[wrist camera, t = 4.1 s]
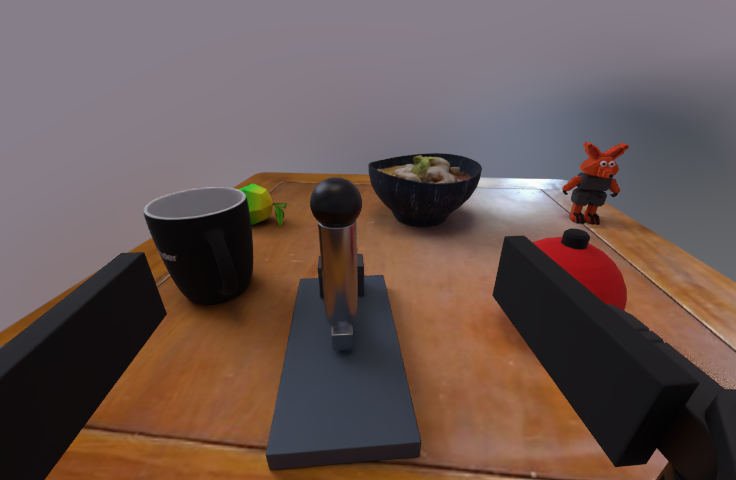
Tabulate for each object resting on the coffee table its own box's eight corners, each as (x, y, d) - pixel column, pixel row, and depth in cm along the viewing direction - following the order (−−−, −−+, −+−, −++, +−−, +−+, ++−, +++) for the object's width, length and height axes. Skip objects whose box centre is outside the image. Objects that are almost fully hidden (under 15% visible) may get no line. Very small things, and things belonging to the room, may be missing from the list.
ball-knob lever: (325, 278, 33) (316, 152, 27) (358, 277, 33) (355, 152, 28) (320, 352, 24) (305, 188, 18) (365, 349, 24) (363, 187, 19)
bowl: (351, 208, 56) (350, 151, 52) (429, 194, 63) (434, 142, 59) (405, 249, 43) (409, 177, 38) (496, 225, 50) (509, 161, 45)
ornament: (581, 306, 32) (616, 214, 28) (625, 379, 24) (684, 268, 20) (488, 295, 34) (506, 206, 29) (501, 360, 26) (528, 253, 21)
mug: (167, 282, 36) (138, 197, 31) (247, 258, 41) (231, 181, 36) (188, 346, 27) (151, 242, 23) (285, 306, 32) (271, 213, 28)
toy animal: (565, 226, 49) (589, 147, 44) (552, 213, 54) (572, 141, 49) (622, 230, 48) (653, 149, 43) (604, 216, 53) (630, 142, 48)
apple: (224, 176, 48) (282, 176, 48) (242, 192, 54) (294, 192, 54) (218, 221, 46) (278, 221, 46) (237, 232, 53) (291, 233, 52)
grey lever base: (301, 290, 35) (296, 249, 32) (383, 286, 35) (384, 246, 33) (269, 470, 19) (255, 416, 16) (419, 457, 19) (426, 402, 17)
